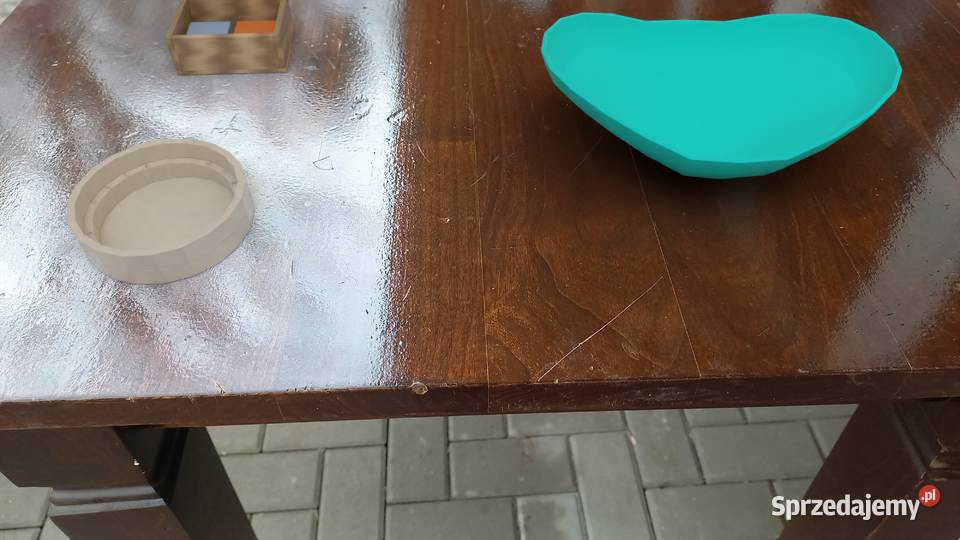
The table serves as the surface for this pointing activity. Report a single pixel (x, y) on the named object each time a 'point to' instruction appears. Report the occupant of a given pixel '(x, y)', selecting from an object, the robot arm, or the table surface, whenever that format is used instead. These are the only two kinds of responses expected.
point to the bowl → (161, 211)
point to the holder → (231, 38)
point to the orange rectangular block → (255, 27)
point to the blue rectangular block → (210, 28)
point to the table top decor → (722, 85)
